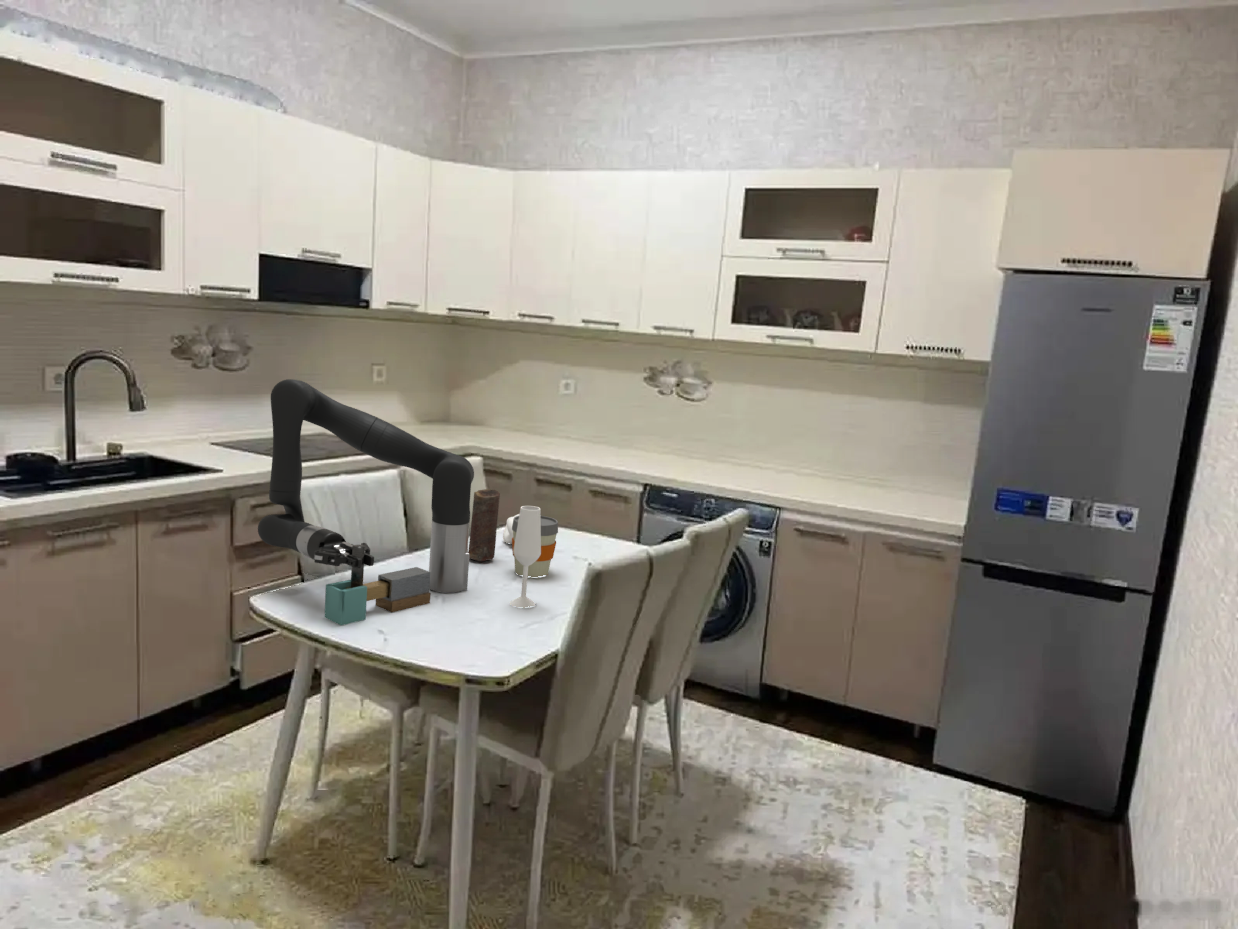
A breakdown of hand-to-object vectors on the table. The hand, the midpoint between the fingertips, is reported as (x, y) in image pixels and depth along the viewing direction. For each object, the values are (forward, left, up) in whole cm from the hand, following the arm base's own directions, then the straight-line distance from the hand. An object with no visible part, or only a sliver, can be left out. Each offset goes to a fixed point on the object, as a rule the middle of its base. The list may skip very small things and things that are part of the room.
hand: (366, 562), depth 186 cm
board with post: (-3, -5, -9) cm, 11 cm away
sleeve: (-10, -9, -13) cm, 19 cm away
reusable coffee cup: (-47, -30, -13) cm, 57 cm away
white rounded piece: (-51, -58, -13) cm, 79 cm away
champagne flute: (-38, -6, -13) cm, 41 cm away
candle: (-36, -43, -13) cm, 58 cm away
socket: (+4, -1, -13) cm, 14 cm away
